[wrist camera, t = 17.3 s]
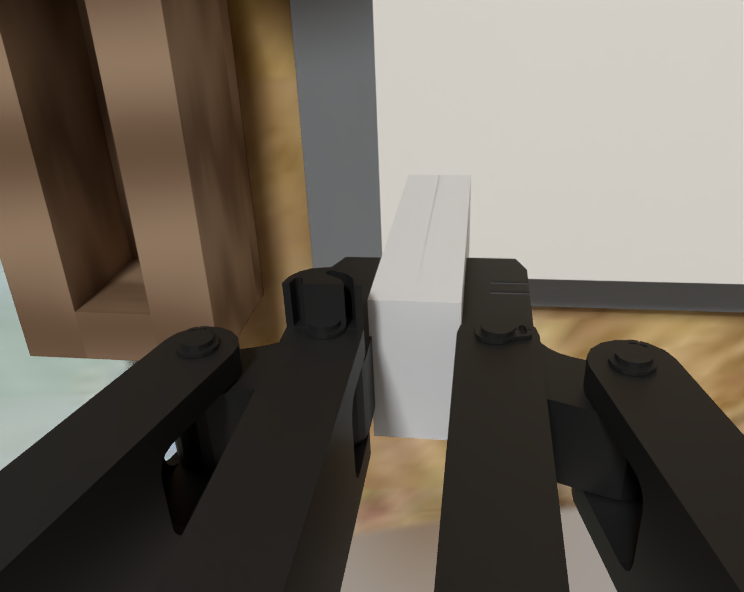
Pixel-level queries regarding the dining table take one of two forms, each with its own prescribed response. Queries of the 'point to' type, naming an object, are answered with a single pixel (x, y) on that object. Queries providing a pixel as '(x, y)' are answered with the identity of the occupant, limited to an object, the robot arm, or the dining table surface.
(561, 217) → the rectangular insert block
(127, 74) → the slot box
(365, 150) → the rubber mat
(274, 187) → the dining table surface
